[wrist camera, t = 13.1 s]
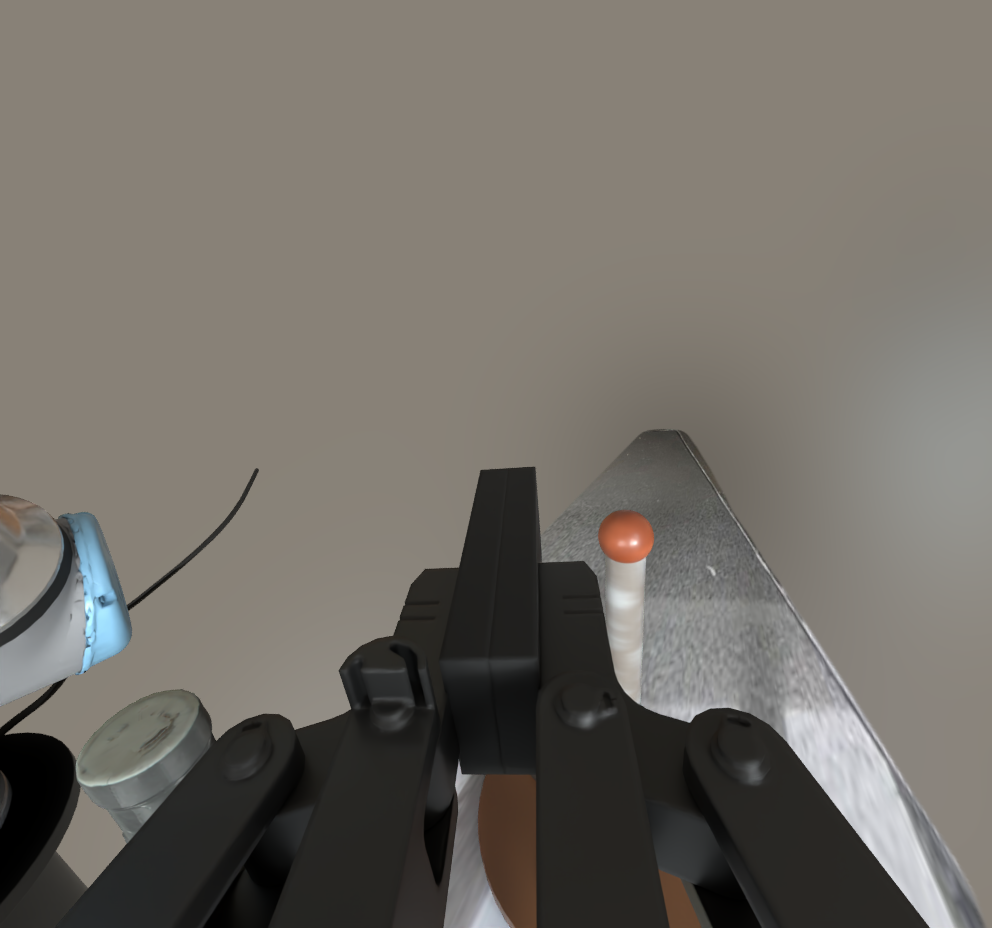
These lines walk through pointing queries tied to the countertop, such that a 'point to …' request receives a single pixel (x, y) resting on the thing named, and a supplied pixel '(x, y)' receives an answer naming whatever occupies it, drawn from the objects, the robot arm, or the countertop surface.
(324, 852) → the robot arm
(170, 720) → the sauce bottle
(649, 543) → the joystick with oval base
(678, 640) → the countertop surface
